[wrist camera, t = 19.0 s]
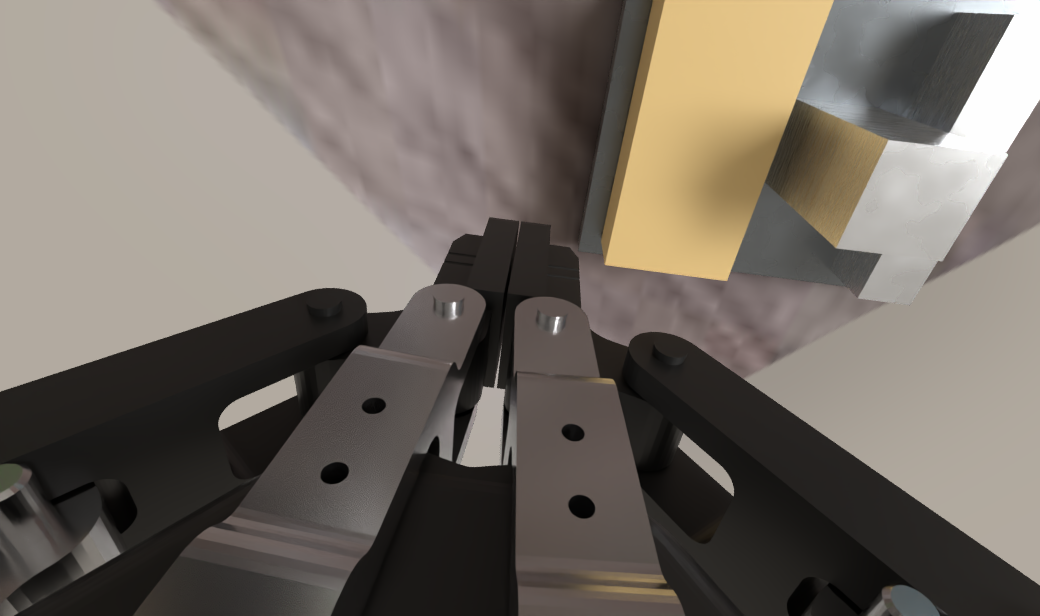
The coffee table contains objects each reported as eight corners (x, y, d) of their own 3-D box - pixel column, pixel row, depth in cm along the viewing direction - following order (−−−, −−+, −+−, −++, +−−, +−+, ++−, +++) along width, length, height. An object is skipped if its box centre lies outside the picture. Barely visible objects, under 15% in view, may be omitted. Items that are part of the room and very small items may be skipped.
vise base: (577, 241, 33) (580, 277, 29) (633, -54, 25) (647, -64, 20) (876, 280, 33) (922, 322, 29) (1036, -1, 25) (1134, -1, 20)
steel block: (763, 181, 29) (835, 248, 21) (794, 98, 26) (888, 140, 19) (841, 190, 29) (942, 261, 21) (879, 108, 26) (1008, 154, 19)
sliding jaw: (601, 240, 31) (604, 264, 28) (658, -28, 24) (671, -30, 21) (712, 255, 31) (726, 280, 28) (805, -9, 24) (837, -9, 21)
